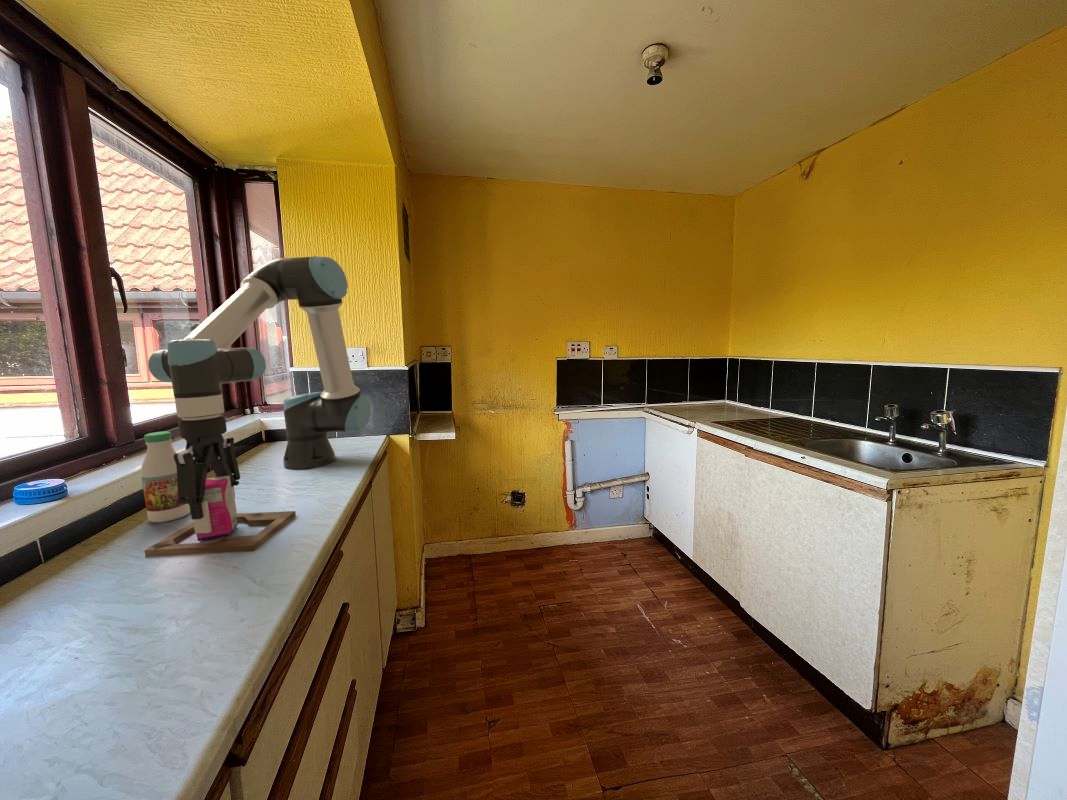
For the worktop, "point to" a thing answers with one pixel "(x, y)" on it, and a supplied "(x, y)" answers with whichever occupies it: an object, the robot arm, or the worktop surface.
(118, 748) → the worktop surface
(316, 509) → the worktop surface
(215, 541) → the keyhole plate
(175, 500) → the milk bottle
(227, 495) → the supplement box
